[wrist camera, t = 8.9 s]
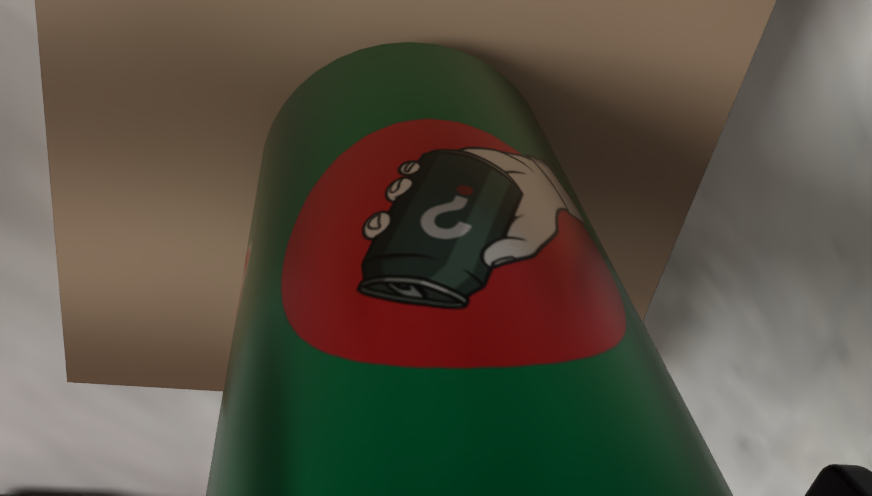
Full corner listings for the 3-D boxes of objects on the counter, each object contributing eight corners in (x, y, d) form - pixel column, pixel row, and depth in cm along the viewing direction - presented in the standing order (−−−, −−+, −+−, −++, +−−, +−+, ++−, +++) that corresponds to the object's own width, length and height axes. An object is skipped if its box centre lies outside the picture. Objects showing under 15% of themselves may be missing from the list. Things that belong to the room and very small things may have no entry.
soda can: (202, 139, 14) (-146, 1233, 4) (442, -33, 12) (862, 894, 3) (373, 317, 16) (437, 1241, 6) (585, 188, 15) (1072, 1073, 5)
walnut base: (576, 345, 21) (603, 413, 19) (97, 308, 18) (67, 381, 16) (759, -152, 14) (831, -132, 12) (64, -304, 12) (8, -310, 10)
